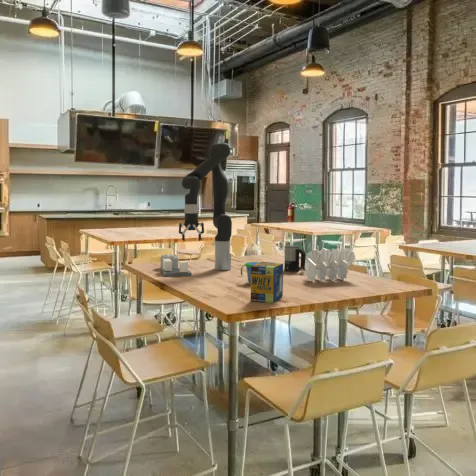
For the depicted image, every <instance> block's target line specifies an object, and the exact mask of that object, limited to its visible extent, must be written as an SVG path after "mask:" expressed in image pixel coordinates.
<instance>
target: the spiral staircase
mask: <svg viewBox="0 0 476 476" xmlns="http://www.w3.org/2000/svg"><path fill="white" fill-rule="evenodd" d="M307 253H308V254H307V255H306V260H305V269H304V271H305V275H306V278H307V280H309V281H310V282H311V281H315V280H316V277H317V278H318V279H319V280H320V281H321V280H322V281H325V280H326V276H327V278H328V280H329V279H330V280H331V281H332V280H334V281H335V280H336V279H337V278H338V279H341V281H344V279H347V278H348V277H347V276H348V275H347V274H349V271H348V267H350V266H351V265H350V264H351V262H353V261H355V260H356V255H355V252H354V251H352V250H351V249H350V247H347V248H345V247H342V249H339V248H338V247H336V248H331V249H330V248H325V247H322V249H321V250H319V248H316V249H315V248H312V249H311V250H310V251H308V252H307Z"/></svg>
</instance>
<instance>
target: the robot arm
mask: <svg viewBox="0 0 476 476" xmlns="http://www.w3.org/2000/svg"><path fill="white" fill-rule="evenodd" d="M209 148H210V149H209V157H208V158H207V159H205V160H203V162H200V164H198V166H197V167H195V169H193V171H191V172H189V173H188V174H187V175H185V176H183V179H182V180H181V186H182V188H183V189H185V190H189V192H188V193H186V194H184V222H179V223H178V234H181V239H182V241H183V242H185V241H186V237H185V236H186V235H185V233H187V231H196V232H197V233H198V242H201V240H202V235H203V234H204V233H205V223H204V222H199V206H198V196H199V192H200V187H201V181H202V180H204V179H205V178H206V177H207V176H208V174H210V172H211V175H212V199H213V200H212V201H213V211H212V212H213V214H212V224H213V227H215V228H216V229H217V232H216V235H215V236H214V270H217V271H218V270H219V271H228V270H229V271H230V270H232V254H231V237H232V234H233V233H232V229H233V222H232V218H231V217H230V215H228V214H226V202H227V198H228V195H229V180H228V179H227V176H226V174H225V173H224V171H223V168H222V164H221V162H223V161H224V160H226V159H227V158H228V157H229V156H230V154H231V147H230V145H229V144H228V143H226V142H218V143H212V144H211V146H210V147H209ZM183 226H184V227H185V228H184V229H183V231H182V227H183ZM199 226H200V227H201V230H199V228H198V227H199Z"/></svg>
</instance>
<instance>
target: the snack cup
mask: <svg viewBox="0 0 476 476" xmlns="http://www.w3.org/2000/svg"><path fill="white" fill-rule="evenodd" d="M258 263H260V261H259V262H258V261H251V262H245V264H243V265H242V266H241V267H240V276H241V277H242V276H243V275H244V274H243V269H244V267H246V276H247V282H248V283H249V284H251V266H253V265H255V264H258Z"/></svg>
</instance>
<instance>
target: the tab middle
mask: <svg viewBox="0 0 476 476" xmlns="http://www.w3.org/2000/svg"><path fill="white" fill-rule="evenodd" d="M164 270H165V271H172V261H171V260H164Z"/></svg>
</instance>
